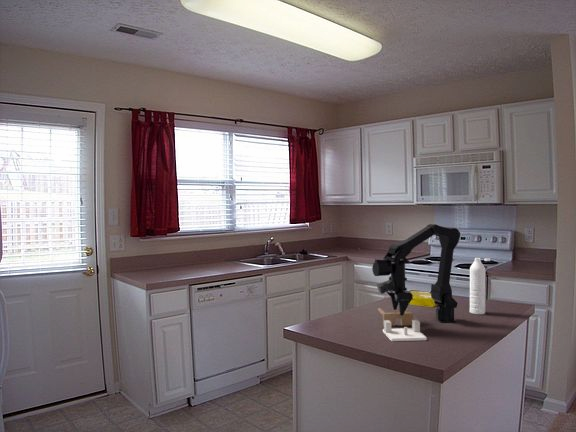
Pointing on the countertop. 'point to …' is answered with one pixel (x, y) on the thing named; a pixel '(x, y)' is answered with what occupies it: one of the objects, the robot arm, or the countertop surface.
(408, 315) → the wooden c-shaped bracket
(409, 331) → the display stand
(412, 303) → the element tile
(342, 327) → the countertop surface
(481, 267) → the water bottle
